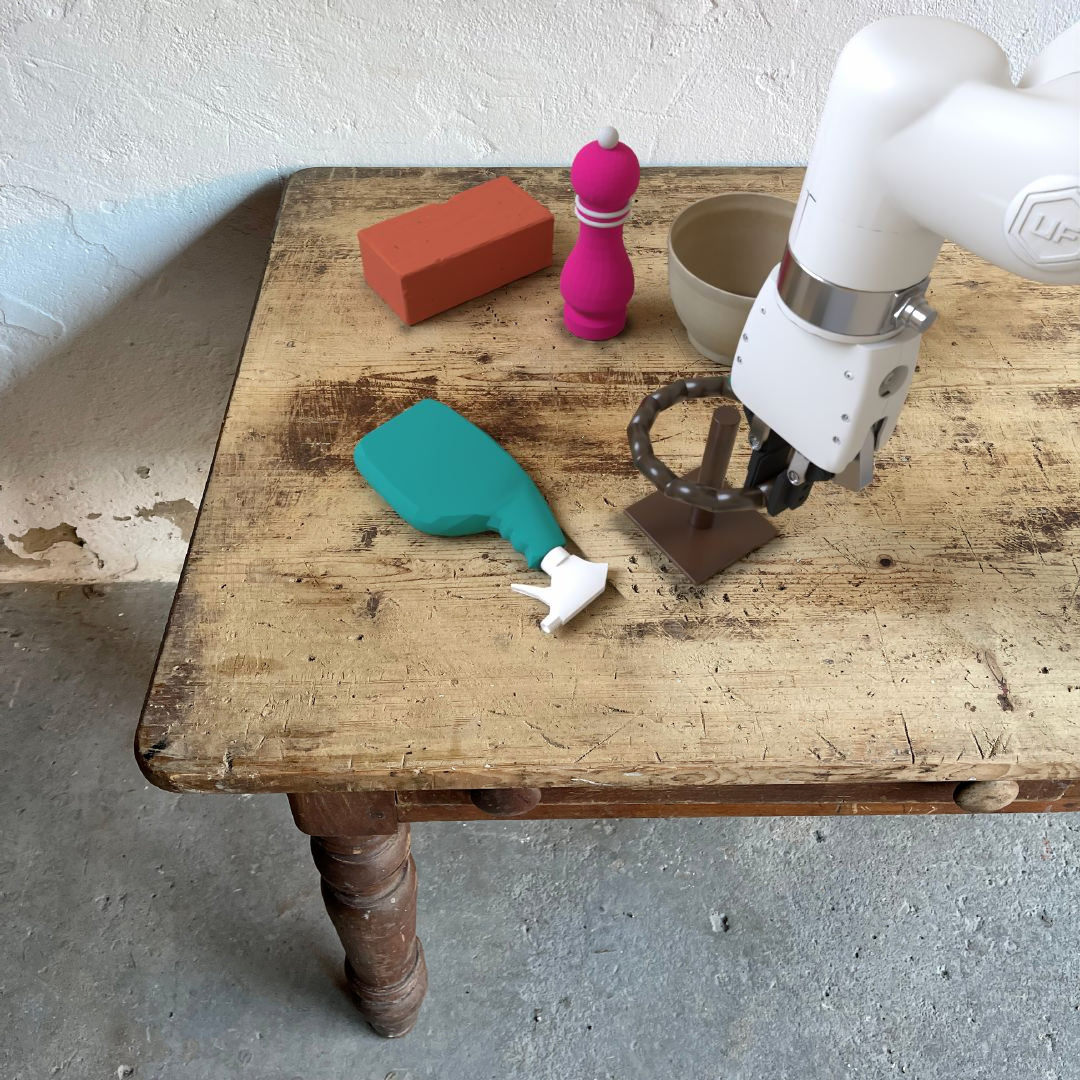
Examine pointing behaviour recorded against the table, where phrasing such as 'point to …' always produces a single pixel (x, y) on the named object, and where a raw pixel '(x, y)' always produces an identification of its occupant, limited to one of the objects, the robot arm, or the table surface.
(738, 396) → the robot arm
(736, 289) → the planter bowl
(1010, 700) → the table surface
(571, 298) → the pepper mill
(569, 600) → the spray bottle
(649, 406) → the ring
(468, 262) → the brick
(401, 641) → the table surface
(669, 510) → the stand
